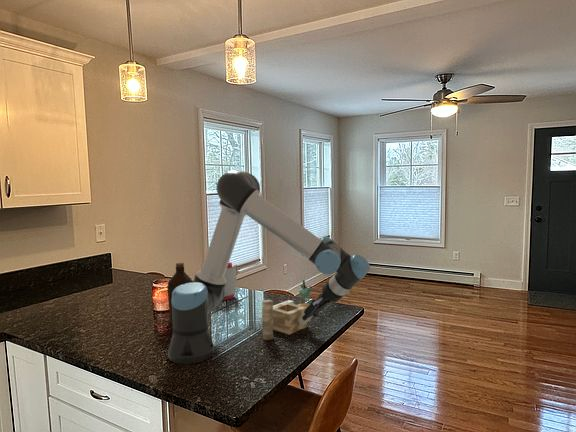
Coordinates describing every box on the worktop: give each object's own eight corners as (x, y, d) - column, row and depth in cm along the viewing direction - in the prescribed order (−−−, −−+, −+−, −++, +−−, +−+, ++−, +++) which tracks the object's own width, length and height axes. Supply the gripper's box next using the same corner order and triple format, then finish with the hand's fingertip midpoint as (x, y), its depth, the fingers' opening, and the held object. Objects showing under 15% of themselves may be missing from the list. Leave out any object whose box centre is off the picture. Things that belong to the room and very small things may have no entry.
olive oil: (190, 326, 158) (189, 265, 156) (165, 326, 158) (163, 266, 156) (197, 317, 169) (195, 260, 167) (173, 317, 169) (171, 261, 167)
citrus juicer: (245, 298, 196) (245, 259, 195) (214, 304, 187) (213, 263, 185) (232, 291, 209) (231, 254, 208) (201, 296, 200) (200, 258, 198)
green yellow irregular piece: (282, 312, 175) (284, 279, 175) (307, 307, 188) (308, 276, 188) (298, 316, 168) (300, 282, 169) (322, 311, 182) (324, 279, 182)
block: (289, 334, 148) (289, 314, 148) (268, 327, 155) (268, 308, 155) (307, 326, 156) (307, 307, 156) (286, 320, 164) (286, 302, 163)
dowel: (267, 340, 142) (267, 303, 141) (260, 338, 145) (259, 301, 144) (275, 337, 145) (275, 301, 144) (267, 335, 148) (267, 299, 147)
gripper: (332, 300, 132) (295, 335, 145) (352, 292, 142) (316, 326, 155) (319, 283, 136) (284, 318, 148) (340, 276, 145) (305, 310, 158)
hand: (300, 322), depth 151 cm, fingers closed
